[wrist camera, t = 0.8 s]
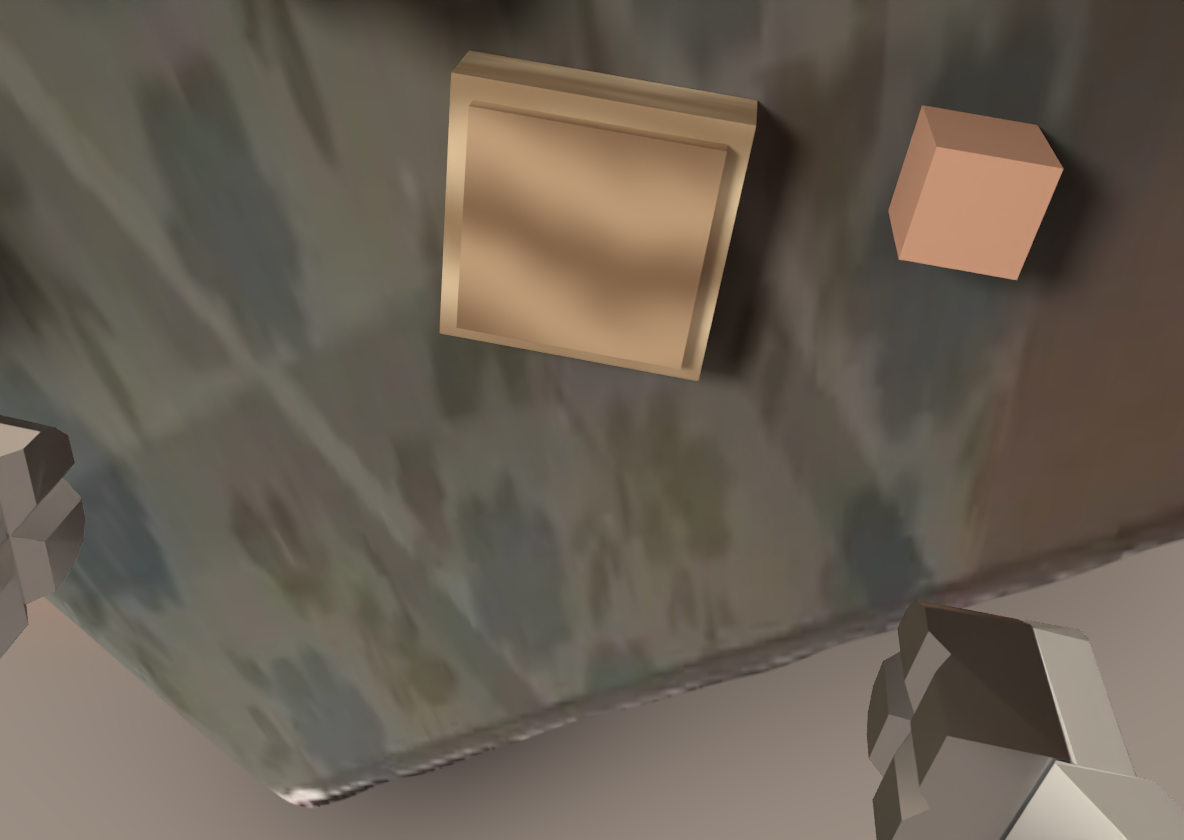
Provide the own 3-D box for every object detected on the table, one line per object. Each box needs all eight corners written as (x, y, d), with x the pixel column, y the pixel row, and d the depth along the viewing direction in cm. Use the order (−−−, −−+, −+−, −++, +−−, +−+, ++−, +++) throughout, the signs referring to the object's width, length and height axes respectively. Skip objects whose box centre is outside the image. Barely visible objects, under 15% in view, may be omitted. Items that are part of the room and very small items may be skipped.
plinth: (469, 50, 46) (446, 78, 43) (757, 100, 46) (756, 132, 43) (455, 301, 54) (435, 341, 51) (702, 347, 53) (697, 390, 50)
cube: (922, 104, 45) (936, 146, 41) (1037, 124, 45) (1063, 168, 41) (888, 210, 48) (898, 259, 44) (996, 229, 48) (1016, 280, 44)
